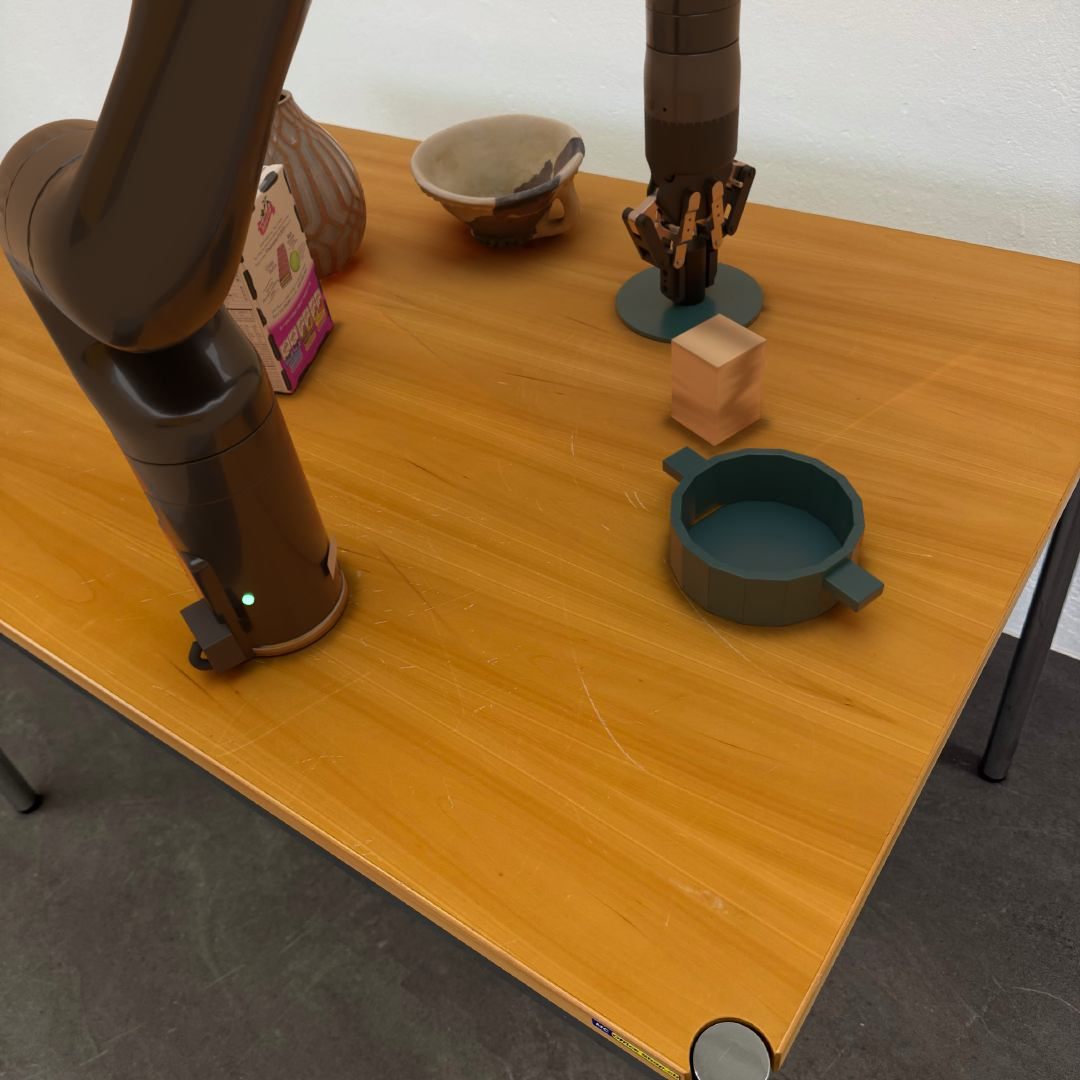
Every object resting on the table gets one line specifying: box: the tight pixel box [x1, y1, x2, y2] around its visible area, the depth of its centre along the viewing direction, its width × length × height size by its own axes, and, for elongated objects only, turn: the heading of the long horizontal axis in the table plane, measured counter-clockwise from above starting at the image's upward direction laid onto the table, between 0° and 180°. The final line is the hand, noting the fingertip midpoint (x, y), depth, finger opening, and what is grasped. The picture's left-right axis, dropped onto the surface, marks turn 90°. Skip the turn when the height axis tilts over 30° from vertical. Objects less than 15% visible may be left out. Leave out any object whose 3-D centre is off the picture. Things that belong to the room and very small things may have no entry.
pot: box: [662, 445, 885, 627], centre depth 64 cm, size 12×18×5 cm
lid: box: [615, 234, 764, 344], centre depth 86 cm, size 14×14×7 cm
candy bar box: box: [223, 164, 335, 394], centre depth 83 cm, size 11×5×16 cm, turn 168°
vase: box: [263, 89, 367, 281], centre depth 95 cm, size 13×13×18 cm
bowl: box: [409, 113, 586, 249], centre depth 98 cm, size 18×18×10 cm
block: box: [670, 314, 768, 447], centre depth 74 cm, size 5×5×8 cm
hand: (689, 290), depth 87 cm, fingers closed on lid, 3 cm apart
